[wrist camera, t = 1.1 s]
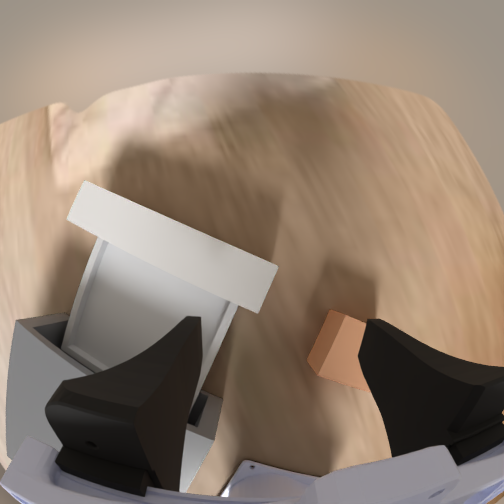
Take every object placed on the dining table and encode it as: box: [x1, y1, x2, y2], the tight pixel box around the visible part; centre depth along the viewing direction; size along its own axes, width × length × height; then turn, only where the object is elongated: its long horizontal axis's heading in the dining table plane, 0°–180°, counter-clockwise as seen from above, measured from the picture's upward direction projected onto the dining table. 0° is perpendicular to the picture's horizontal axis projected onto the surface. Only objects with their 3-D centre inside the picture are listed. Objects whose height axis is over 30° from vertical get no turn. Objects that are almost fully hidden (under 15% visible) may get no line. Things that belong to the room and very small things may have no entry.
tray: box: [61, 180, 279, 414], centre depth 19 cm, size 14×14×5 cm
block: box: [307, 309, 371, 392], centre depth 20 cm, size 4×4×4 cm
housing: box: [6, 313, 223, 493], centre depth 17 cm, size 16×16×7 cm
